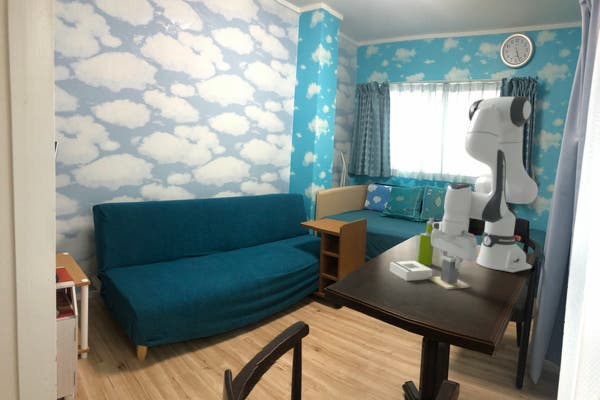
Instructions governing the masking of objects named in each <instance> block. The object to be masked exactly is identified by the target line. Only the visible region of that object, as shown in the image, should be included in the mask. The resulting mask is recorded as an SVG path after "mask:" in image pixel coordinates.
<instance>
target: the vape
mask: <svg viewBox="0 0 600 400" xmlns="http://www.w3.org/2000/svg"><path fill="white" fill-rule="evenodd" d="M435 222H436V221H435V220H434V217H429V220H428V221H426V231H425V232H421V233H419V243H418V244H419V245H418V255H417V262H418V263H420V264H422V265H424V266H426V267H428V266H432V265H433V257H434V256H433V255H434V247H433V246H432V244H431V234H432V230H433V229H434V228H433V227H432V224H433V223H435Z"/></svg>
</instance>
